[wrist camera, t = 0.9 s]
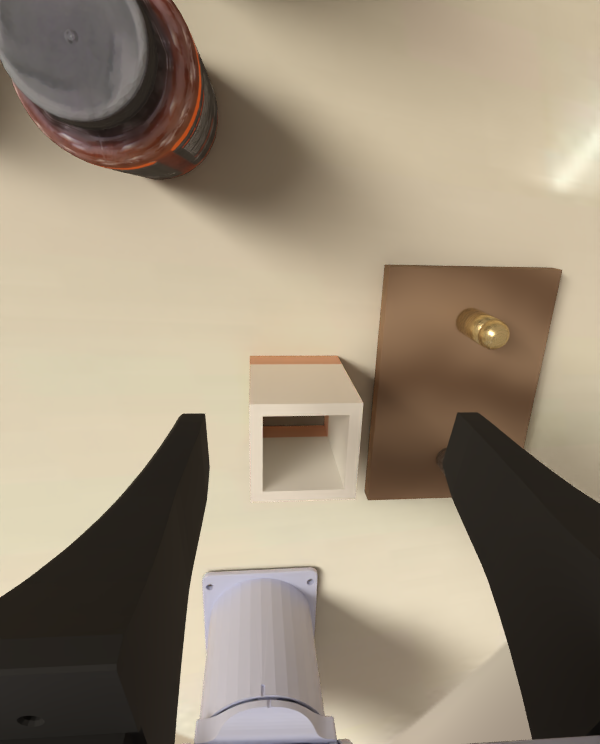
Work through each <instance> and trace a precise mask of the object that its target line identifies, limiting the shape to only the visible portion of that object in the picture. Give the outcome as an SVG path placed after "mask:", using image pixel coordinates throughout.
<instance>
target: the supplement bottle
mask: <svg viewBox="0 0 600 744" xmlns="http://www.w3.org/2000/svg"><path fill="white" fill-rule="evenodd" d="M0 60H1V62H2V64H3V66H4V68H5V70H6V72H7V73H8V74H9V76H10V77H11V79H12V83H13V86H14V88H15V90H16V92H17V95H18V97H19V99H20V101H21V102H22V104H23V106H24V108H25V109H26V111H27V112H28V114H29V115H30V117H31V118H32V120H33V121H34V122H35V124H36V125H37V126H38V127H39V128H40V129H41V131H42V132H43V133H44V134H45V135H46V136H47V137H49V138H50V139H51V140H52V141H53V142H54V143H56V144H57V145H58V146H59V147H61V148H62V149H64V150H65V151H67V152H69V153H71V154H72V155H74V156H75V157H78V158H80V159H82V160H84V161H86V162H89V163H91V164H94V165H97V166H101V167H105V168H109V169H113V170H117V171H120V172H124V173H129V174H133V175H138V176H142V177H146V178H152V179H168V178H174V177H177V176H181V175H183V174H185V173H187V172H189V171H191V170H192V169H194V168H195V167H196V166H198V165H199V164H200V163H201V162H202V161H203V160H204V159H205V157H206V156H207V154H208V152H209V151H210V149H211V147H212V145H213V142H214V139H215V136H216V131H217V124H218V111H217V102H216V97H215V93H214V90H213V87H212V85H211V82H210V80H209V77H208V75H207V72H206V70H205V67H204V64H203V62H202V59H201V57H200V54H199V52H198V50H197V47H196V45H195V43H194V41H193V38H192V36H191V34H190V31H189V29H188V26H187V24H186V22H185V21H184V19H183V17H182V15H181V13H180V11H179V10H178V8H177V7H176V5H175V4H174V2H173V1H172V0H0Z"/></svg>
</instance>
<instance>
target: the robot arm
mask: <svg viewBox="0 0 600 744" xmlns="http://www.w3.org/2000/svg"><path fill="white" fill-rule="evenodd" d="M442 465H443V469H444V473H445V477H446V480H447V484H448V487H449V490H450V493H451V496H452V499H453V501H454V503H455V506H456V508H457V510H458V513H459V515H460V517H461V519H462V522H463V524H464V526H465V528H466V531H467V533H468V535H469V537H470V540H471V542H472V544H473V546H474V549H475V551H476V553H477V555H478V557H479V560H480V562H481V564H482V567H483V569H484V572H485V574H486V577H487V579H488V582H489V585H490V588H491V591H492V594H493V597H494V600H495V603H496V606H497V609H498V612H499V616H500V619H501V622H502V626H503V629H504V632H505V636H506V639H507V642H508V646H509V649H510V652H511V656H512V660H513V664H514V667H515V671H516V675H517V678H518V682H519V686H520V690H521V694H522V697H523V702H524V706H525V710H526V715H527V719H528V723H529V727H530V731H531V735H532V740H519V741H503V742H489V743H472V744H600V503H598V502H596V501H595V500H593V499H592V498H590V497H588V496H587V495H585V494H584V493H582V492H581V491H579V490H578V489H576V488H575V487H573V486H572V485H571V484H569V483H568V482H566V481H565V480H564V479H562V478H561V477H559V476H558V475H557V474H555V473H554V472H552V471H551V470H550V469H549V468H547V467H546V466H545V465H543V464H542V463H541V462H539V461H538V460H537V459H535V458H534V457H533V456H532V455H530V454H529V453H528V452H527V451H525V450H524V449H523V448H522V447H520V446H519V445H518V444H517V443H516V442H514V441H513V440H512V439H511V438H509V437H508V436H507V435H506V434H505V433H503V432H502V431H501V430H500V429H499V428H497V427H496V426H495V425H494V424H492V423H491V422H490V421H489V420H487V419H486V418H485V417H484V416H482V415H481V414H480V413H478V412H457V415H456V419H455V422H454V425H453V429H452V432H451V436H450V439H449V442H448V446H447V449H446V452H445V456H444V459H443V462H442ZM209 469H210V465H209V454H208V442H207V430H206V419H205V414H182V415H181V416H180V417H179V418H178V420H177V421H176V423H175V425H174V426H173V428H172V430H171V431H170V433H169V434H168V436H167V437H166V439H165V440H164V442H163V443H162V445H161V446H160V448H159V449H158V450H157V452H156V453H155V454H154V456H153V457H152V458H151V460H150V461H149V462H148V464H147V465H146V466H145V468H144V469H143V470H142V472H141V473H140V474H139V475H138V476H137V478H136V479H135V480H134V481H133V482H132V484H131V485H130V486H129V487H128V488H127V490H126V491H125V492H124V493H123V494H122V495H121V496H120V497H119V499H118V500H117V501H116V502H115V503H114V504H113V505H112V506H111V507H110V508H109V509H108V510H107V511H106V512H105V513H104V514H103V515H102V516H101V517H100V518H99V519H98V520H97V521H96V522H95V523H94V524H93V525H92V526H91V527H90V528H88V529H87V530H86V531H85V532H84V533H83V534H82V535H81V536H80V537H79V538H78V539H77V540H75V541H74V542H73V543H72V544H71V545H70V546H68V547H67V548H66V549H65V550H64V551H62V552H61V553H60V554H59V555H57V556H56V557H55V558H54V559H52V560H51V561H50V562H49V563H47V564H46V565H45V566H43V567H42V568H41V569H40V570H38V571H37V572H36V573H35V574H33V575H32V576H31V577H29V578H28V579H27V580H25V581H24V582H22V583H21V584H20V585H18V586H17V587H15V588H14V589H12V590H11V591H9V592H8V593H6V594H5V595H3V596H2V597H0V744H174V743H175V731H176V718H177V706H178V695H179V684H180V673H181V662H182V652H183V642H184V632H185V622H186V613H187V604H188V595H189V587H190V581H191V575H192V570H193V565H194V560H195V555H196V551H197V546H198V541H199V536H200V531H201V526H202V521H203V517H204V512H205V507H206V502H207V492H208V481H209ZM317 578H318V575H317V570H316V569H315V568H312V567H306V568H285V569H264V570H243V571H222V572H208V573H206V574H204V576H203V580H202V584H203V602H204V621H205V639H206V663H205V673H204V682H203V692H202V702H201V711H200V719H198V720H197V721H196V730H195V739H194V744H352V742H351V741H350V740H349V739H339V740H337V737H336V731H335V724H334V718H333V717H332V716H325V714H324V707H323V699H322V692H321V685H320V678H319V671H318V664H317V656H316V649H315V642H314V636H315V617H316V597H317ZM310 579H312V580H311V581H308V580H310ZM209 584H211V585H212V586H208V585H209ZM183 744H191V743H183Z"/></svg>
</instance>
